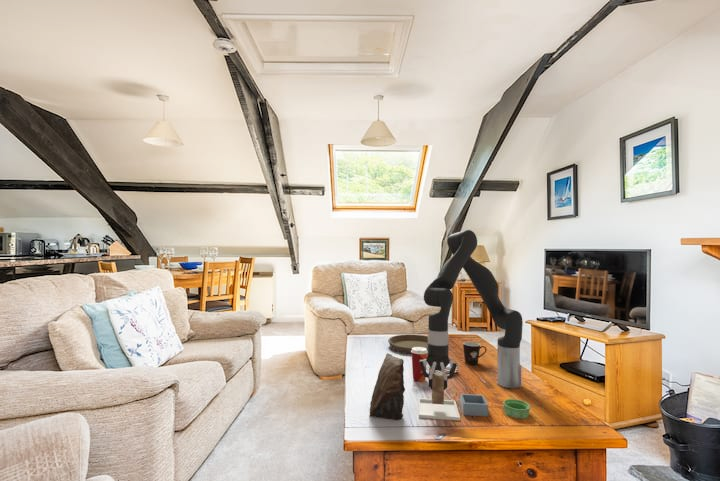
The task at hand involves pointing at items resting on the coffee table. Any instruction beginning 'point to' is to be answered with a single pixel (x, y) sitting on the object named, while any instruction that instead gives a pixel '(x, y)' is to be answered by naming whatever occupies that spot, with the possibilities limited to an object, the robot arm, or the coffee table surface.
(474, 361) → the coffee mug
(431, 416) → the cream tray
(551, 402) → the coffee table surface
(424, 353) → the paper cup
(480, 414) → the blue-grey open box
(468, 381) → the coffee table surface
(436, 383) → the walnut peg
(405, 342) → the plant saucer
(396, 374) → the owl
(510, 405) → the ramekin
